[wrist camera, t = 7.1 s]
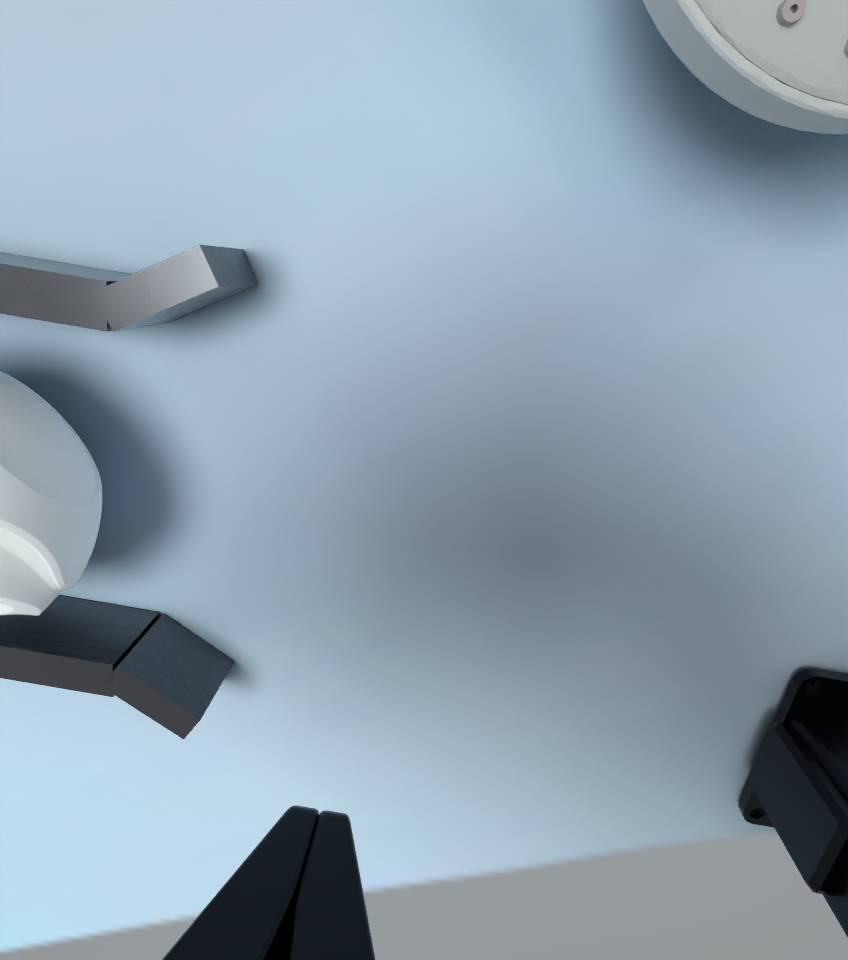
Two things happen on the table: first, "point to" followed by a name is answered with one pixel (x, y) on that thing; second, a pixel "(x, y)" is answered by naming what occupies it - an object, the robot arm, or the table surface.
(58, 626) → the bracket
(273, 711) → the table surface
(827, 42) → the showerhead
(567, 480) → the table surface
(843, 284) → the table surface
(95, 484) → the white folded round lump
